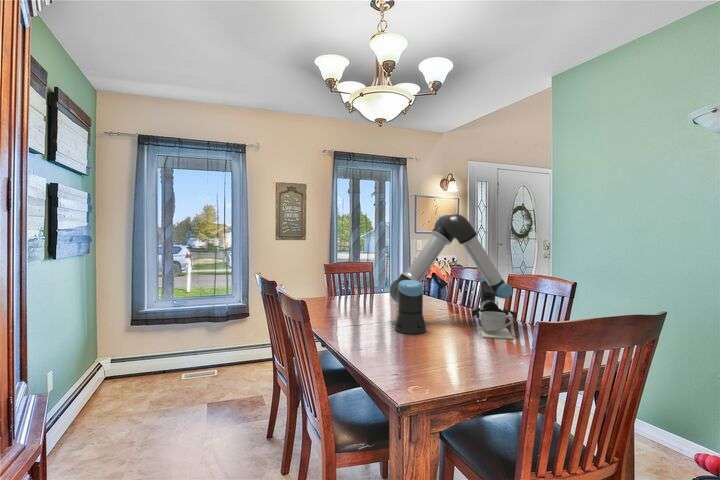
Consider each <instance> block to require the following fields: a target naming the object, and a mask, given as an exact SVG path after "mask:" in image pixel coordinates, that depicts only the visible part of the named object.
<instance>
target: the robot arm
mask: <svg viewBox="0 0 720 480" xmlns="http://www.w3.org/2000/svg"><path fill="white" fill-rule="evenodd" d="M477 236H478V233H477V232H476V230H475V228H474V226H473V225H472V224H471V223H470V221H469V220H468V219H467V218H466V217H465V216H463V215H461V214H459V213H458V214H457V213H455V214H445V215H442V216H440V217H439V218H437V219H436V221H435V222H434V226H433V229H432V230H431V237H430V238H429V240H428V241H427V242H426V244H425V245H424V246H423V248H422V250H421V251H420V252H419V254H418V255H417V257H416V258H415V259H414V261H412V263H411V265H410V266H409V267H408V269H407V270H406V272H402V273H401V274H400V275H399V277H397V279H395V280H393V281H392V282H391V283H390V286H389V294H390V297H391V298H392V300H394V301H395V302H396V303H398V306H397V307H398V308H397V310H398V312H397V313H398V315H397V317H396V320H395V322H394V323H395V324H394V331H396V332H397V333H401V334H404V335H405V334H408V335H417V334H418V335H419V334H423V333H426V332H427V324H426V321H425V317H424V311H423V309H424V308H423V307H424V303H423V302H424V296H423V295H424V288H423V283H421V281H422V279H423V278H424V277H425V275H426V273H427V272H428V271H429V270H430V268H431V267H432V265H433V264H434V262H435V261H436V260H437V259H438V257H439V256H440V254H441V252H442V251H443V250H444V249H445V247H446V246H447V245H451V243H452V242H453V240H455V239H456V240H457V242H458V244H460V245H462V246H463V247H464V249H465V250H466V252H467V254H468V255H469V257H470V258H471V260H472V262H473V263H474V265H475V267H476V268H477V269H478V271H479V272H480V274H481V277H480V301H479V307H477V308H475V309H473V310H471V317H475V318H476V319H479V321H481V320H482V314H481V312H487V311H489V312H501V313H505V314H506V315H510V316H512V318H513V319H516V318H517V312H515V311H513V310H509V309H507V308H503V309H502V308H499V306H498V305H497V302H496V298H500V299H506V300H507V299H509V298H510V297H511V296H512V295H513V287H512V285H510V284H508V283H506V282H505V280H504V279H503V277H502V275H501V274H500V272H499V270H498V269H497V266H495V264H494V263H493V261H492V260H491V258H490V256H489V255H488V253H487V251H486V250H485V248H484V247H483V245H482V244H481V242H480V240H479V239H478V237H477ZM507 319H508V320H509V322H510V321H511V319H510V318H509V317H507Z"/></svg>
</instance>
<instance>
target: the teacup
mask: <svg viewBox="0 0 720 480" xmlns="http://www.w3.org/2000/svg"><path fill="white" fill-rule="evenodd" d="M481 314H482V320H480V321H481V325H482V326H483V327H484V328H485V329H486V330H490V331H501V330H502V329H503V328H508V326H510V325H511V324H513V322H514V318H512V316H510V315H506V314H505V313H501V312H489V311H487V312H481ZM508 317H509V318H510V319H511V321H510V320H509V322H507V323H506V320H507V319H508Z"/></svg>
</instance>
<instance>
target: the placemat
mask: <svg viewBox="0 0 720 480" xmlns="http://www.w3.org/2000/svg"><path fill="white" fill-rule="evenodd" d="M478 329H479V332H480V333H479V334H480V336H481V337H482V339H492V338H496V339H495V340H511V341H514V340H515V338H514V337H513V335H512V334H511V332H510V331H509V329H508V327H505V328H503V329H502V330H501V331H490V330H486V329H485V328H484V327H483V326H480V325H479V326H478Z"/></svg>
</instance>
